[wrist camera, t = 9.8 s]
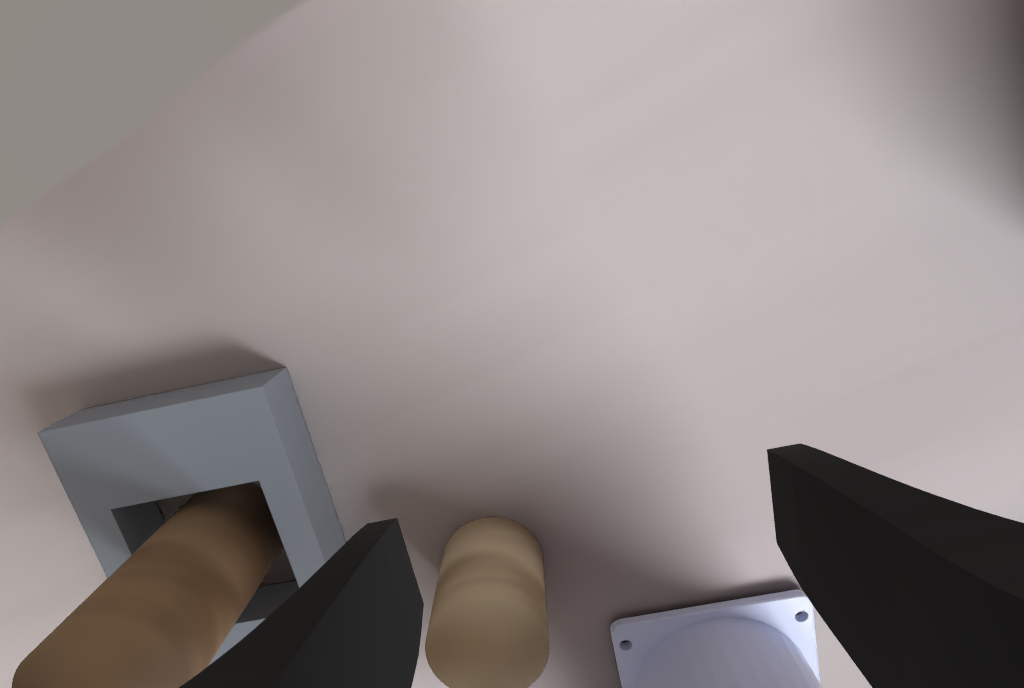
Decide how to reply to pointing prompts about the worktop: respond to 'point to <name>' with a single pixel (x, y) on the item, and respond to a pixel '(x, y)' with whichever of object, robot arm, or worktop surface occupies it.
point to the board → (198, 472)
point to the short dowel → (489, 608)
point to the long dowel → (165, 600)
